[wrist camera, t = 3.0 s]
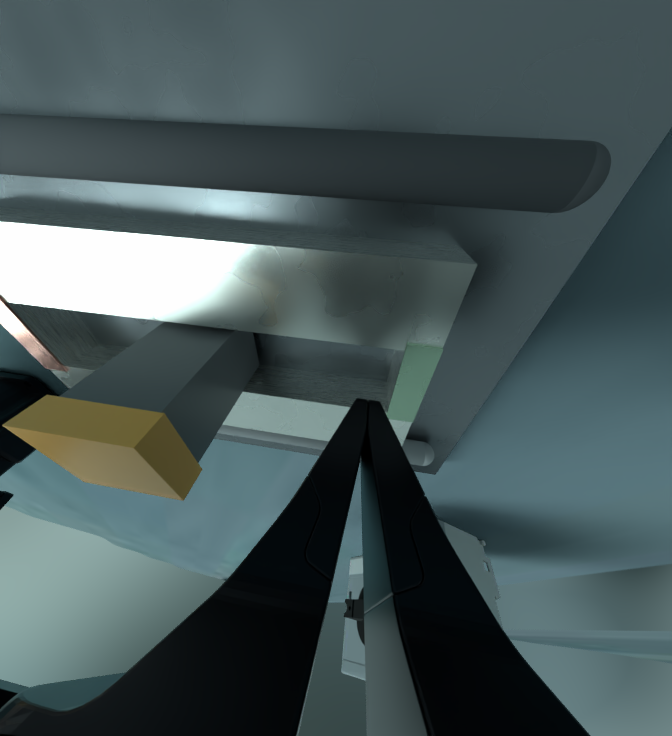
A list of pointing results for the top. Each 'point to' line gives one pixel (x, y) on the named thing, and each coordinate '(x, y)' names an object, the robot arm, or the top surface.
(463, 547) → the circuit breaker
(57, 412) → the breaker lever
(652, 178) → the top surface
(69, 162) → the gray flat tray
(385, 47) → the breaker panel
